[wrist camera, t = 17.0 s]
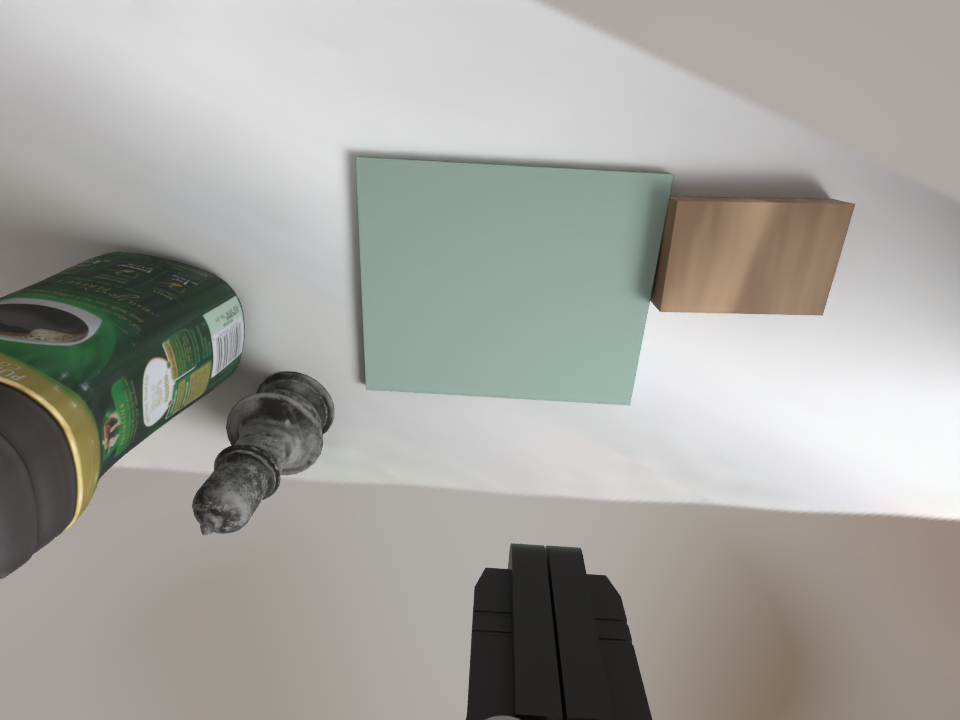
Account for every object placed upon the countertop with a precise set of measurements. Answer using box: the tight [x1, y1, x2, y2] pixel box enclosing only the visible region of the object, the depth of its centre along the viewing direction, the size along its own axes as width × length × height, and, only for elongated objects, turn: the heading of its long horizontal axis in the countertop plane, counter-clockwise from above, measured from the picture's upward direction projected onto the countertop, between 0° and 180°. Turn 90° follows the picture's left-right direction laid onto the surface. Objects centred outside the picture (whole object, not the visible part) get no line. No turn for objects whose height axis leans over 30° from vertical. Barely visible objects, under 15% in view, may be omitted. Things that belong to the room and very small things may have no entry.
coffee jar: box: [0, 252, 245, 579], centre depth 24 cm, size 10×8×19 cm
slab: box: [650, 196, 855, 315], centre depth 29 cm, size 2×6×9 cm
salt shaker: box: [192, 372, 334, 535], centre depth 30 cm, size 6×6×12 cm
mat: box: [356, 157, 674, 405], centre depth 31 cm, size 17×14×1 cm
